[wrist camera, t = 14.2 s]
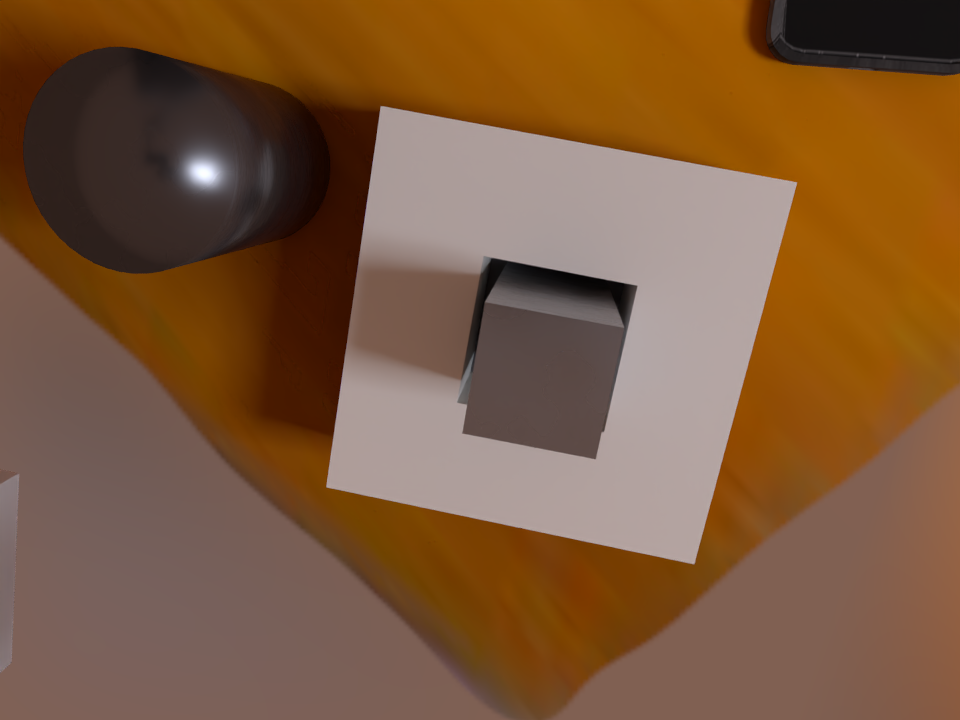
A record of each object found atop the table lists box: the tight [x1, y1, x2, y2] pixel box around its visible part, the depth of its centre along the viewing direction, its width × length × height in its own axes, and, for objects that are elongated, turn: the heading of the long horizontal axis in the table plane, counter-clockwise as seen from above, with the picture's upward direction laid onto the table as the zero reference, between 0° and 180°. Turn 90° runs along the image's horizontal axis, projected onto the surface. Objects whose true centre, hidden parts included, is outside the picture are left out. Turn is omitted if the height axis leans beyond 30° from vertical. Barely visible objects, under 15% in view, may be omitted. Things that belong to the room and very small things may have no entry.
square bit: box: [462, 262, 624, 459], centre depth 29 cm, size 4×4×10 cm
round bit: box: [23, 47, 330, 273], centre depth 29 cm, size 6×6×10 cm
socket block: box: [326, 106, 797, 564], centre depth 31 cm, size 14×14×5 cm
